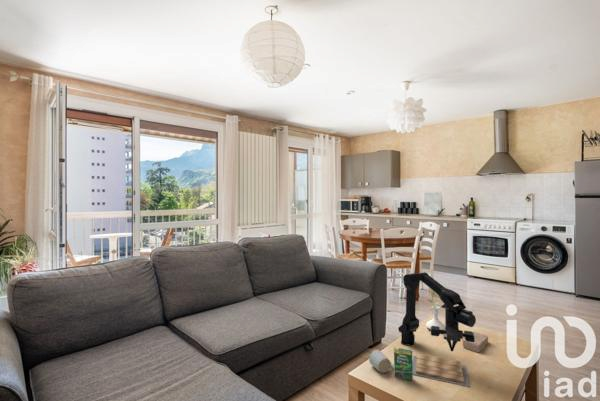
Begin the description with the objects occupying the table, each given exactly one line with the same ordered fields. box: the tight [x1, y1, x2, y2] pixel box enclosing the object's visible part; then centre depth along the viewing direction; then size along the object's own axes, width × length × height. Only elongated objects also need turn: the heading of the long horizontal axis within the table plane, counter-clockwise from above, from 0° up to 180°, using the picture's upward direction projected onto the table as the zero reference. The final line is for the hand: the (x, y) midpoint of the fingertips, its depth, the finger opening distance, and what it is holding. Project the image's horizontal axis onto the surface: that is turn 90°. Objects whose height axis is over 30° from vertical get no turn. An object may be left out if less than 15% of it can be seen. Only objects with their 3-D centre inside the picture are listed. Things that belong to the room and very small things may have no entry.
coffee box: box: [393, 346, 414, 382], centre depth 142 cm, size 8×3×13 cm, turn 61°
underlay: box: [412, 355, 470, 387], centre depth 148 cm, size 24×17×1 cm
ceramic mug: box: [368, 349, 394, 374], centre depth 150 cm, size 11×8×8 cm
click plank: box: [416, 353, 463, 372], centre depth 151 cm, size 20×7×1 cm, turn 66°
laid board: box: [416, 363, 464, 384], centre depth 144 cm, size 20×7×1 cm, turn 66°
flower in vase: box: [425, 287, 445, 330], centre depth 192 cm, size 13×11×25 cm
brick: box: [462, 331, 489, 353], centre depth 171 cm, size 17×8×5 cm, turn 133°
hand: (451, 351), depth 150 cm, fingers closed
